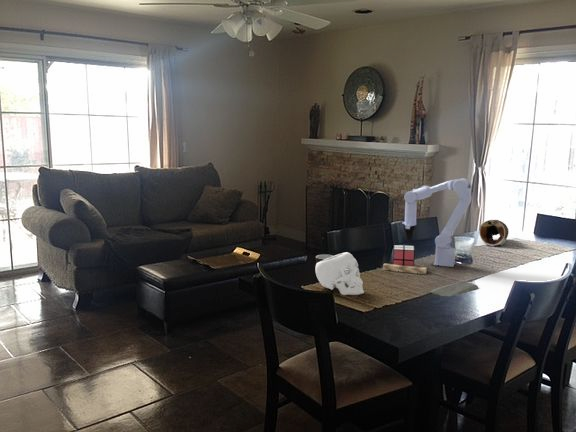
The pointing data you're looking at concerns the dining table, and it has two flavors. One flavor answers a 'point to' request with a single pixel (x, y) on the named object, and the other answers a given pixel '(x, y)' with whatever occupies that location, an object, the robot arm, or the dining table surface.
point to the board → (404, 268)
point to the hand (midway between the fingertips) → (409, 240)
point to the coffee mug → (322, 257)
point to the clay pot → (493, 232)
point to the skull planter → (340, 274)
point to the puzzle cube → (403, 255)
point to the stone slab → (454, 289)
